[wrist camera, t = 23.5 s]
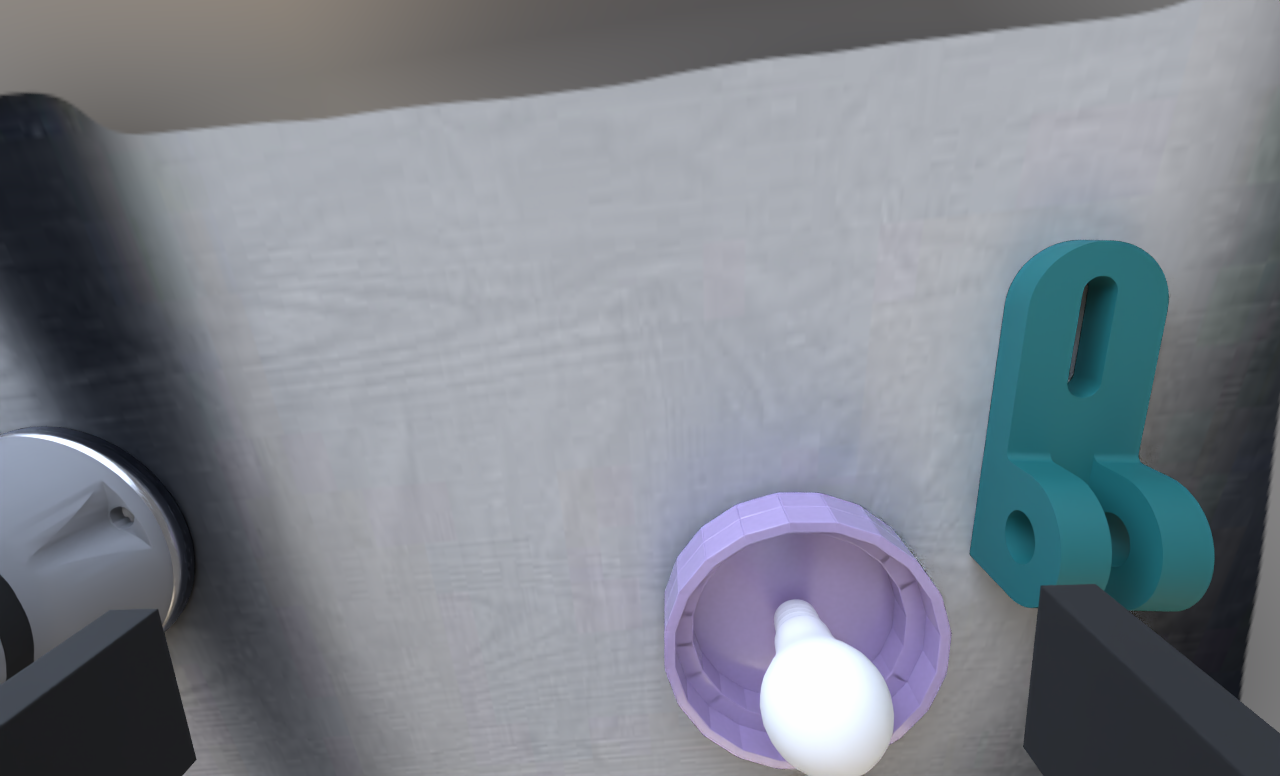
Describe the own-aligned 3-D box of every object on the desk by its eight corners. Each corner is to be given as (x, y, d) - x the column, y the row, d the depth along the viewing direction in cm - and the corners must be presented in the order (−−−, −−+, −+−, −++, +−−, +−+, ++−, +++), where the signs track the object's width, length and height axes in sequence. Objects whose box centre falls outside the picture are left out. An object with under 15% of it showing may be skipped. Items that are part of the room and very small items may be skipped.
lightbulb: (773, 546, 37) (817, 673, 27) (864, 592, 38) (943, 734, 27) (722, 628, 39) (745, 779, 28) (810, 670, 39) (865, 835, 28)
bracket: (1087, 557, 37) (1196, 641, 30) (969, 554, 38) (1047, 636, 30) (1147, 240, 33) (1292, 242, 25) (1014, 239, 33) (1118, 241, 26)
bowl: (633, 672, 40) (629, 726, 36) (711, 455, 37) (717, 485, 32) (860, 739, 41) (884, 800, 36) (959, 532, 37) (998, 571, 33)
